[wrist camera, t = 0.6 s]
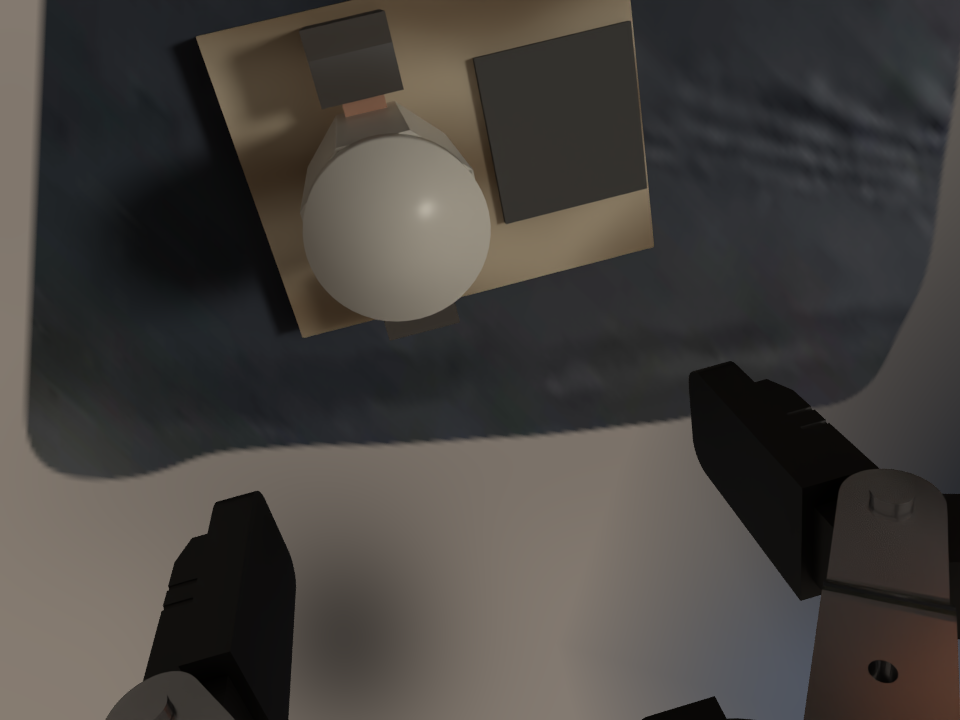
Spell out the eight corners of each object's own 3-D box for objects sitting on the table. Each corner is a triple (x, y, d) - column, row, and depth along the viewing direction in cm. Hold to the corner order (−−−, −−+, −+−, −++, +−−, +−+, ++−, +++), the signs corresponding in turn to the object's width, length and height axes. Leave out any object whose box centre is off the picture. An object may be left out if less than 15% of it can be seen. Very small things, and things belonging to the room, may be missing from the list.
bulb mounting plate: (202, 35, 29) (143, 52, 20) (611, -61, 30) (725, -84, 21) (304, 325, 35) (293, 435, 26) (642, 237, 36) (740, 315, 27)
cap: (277, 79, 28) (257, 109, 21) (427, 44, 28) (458, 60, 21) (346, 296, 32) (348, 382, 25) (475, 263, 32) (514, 338, 25)
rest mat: (472, 57, 30) (474, 58, 29) (627, 20, 30) (631, 20, 30) (504, 222, 33) (506, 224, 33) (643, 186, 34) (647, 188, 33)
